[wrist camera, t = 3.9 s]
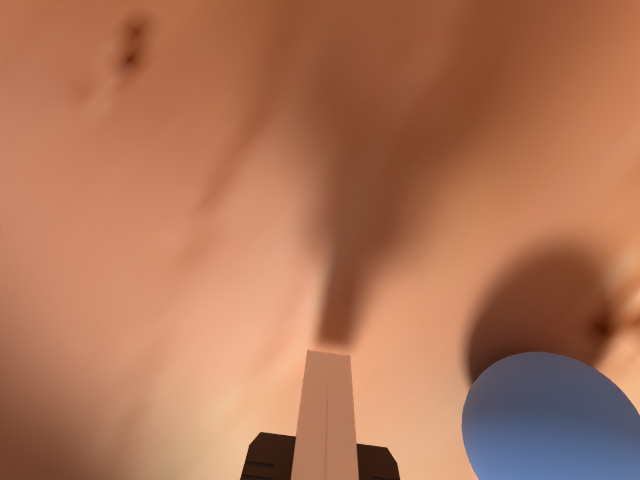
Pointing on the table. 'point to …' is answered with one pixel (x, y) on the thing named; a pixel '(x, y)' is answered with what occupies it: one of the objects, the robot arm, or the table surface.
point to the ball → (549, 422)
